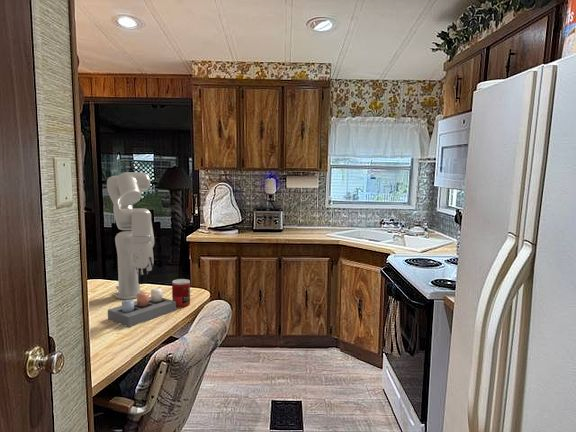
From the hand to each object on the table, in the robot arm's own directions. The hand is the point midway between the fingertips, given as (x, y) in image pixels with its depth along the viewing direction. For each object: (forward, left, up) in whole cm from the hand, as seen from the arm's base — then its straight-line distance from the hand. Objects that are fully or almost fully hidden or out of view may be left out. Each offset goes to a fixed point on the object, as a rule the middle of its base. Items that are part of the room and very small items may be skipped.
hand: (142, 283), depth 159 cm
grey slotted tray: (-1, 0, -14) cm, 14 cm away
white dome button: (-1, +7, -9) cm, 12 cm away
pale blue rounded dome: (-1, -7, -11) cm, 13 cm away
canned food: (+2, +18, -14) cm, 23 cm away
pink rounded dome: (-1, 0, -9) cm, 9 cm away
